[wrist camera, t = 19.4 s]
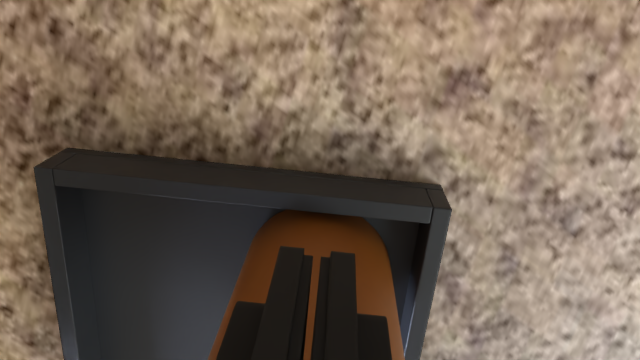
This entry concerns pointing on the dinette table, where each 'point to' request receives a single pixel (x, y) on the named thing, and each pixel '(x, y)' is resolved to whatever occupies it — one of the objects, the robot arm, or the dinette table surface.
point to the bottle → (319, 240)
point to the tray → (203, 245)
